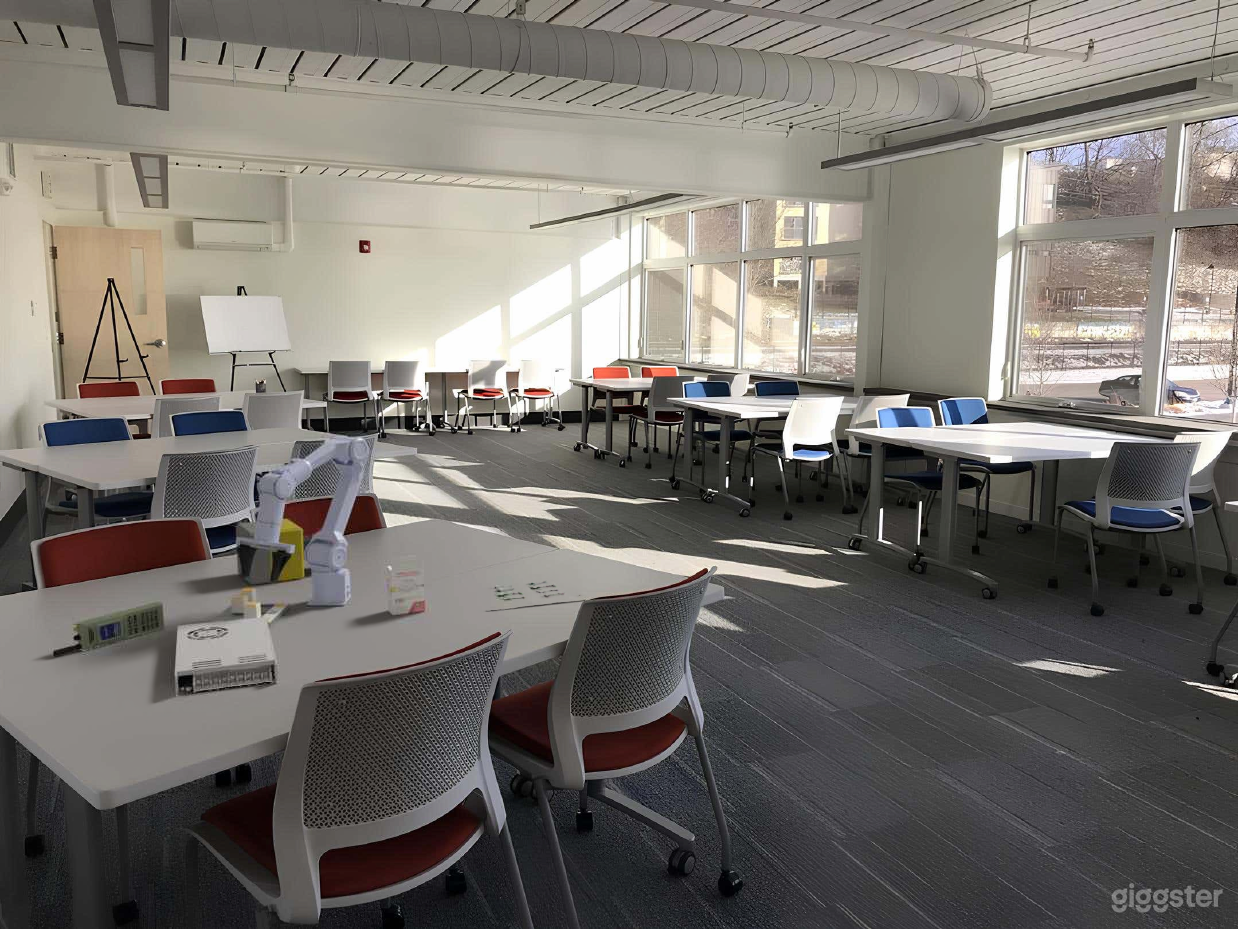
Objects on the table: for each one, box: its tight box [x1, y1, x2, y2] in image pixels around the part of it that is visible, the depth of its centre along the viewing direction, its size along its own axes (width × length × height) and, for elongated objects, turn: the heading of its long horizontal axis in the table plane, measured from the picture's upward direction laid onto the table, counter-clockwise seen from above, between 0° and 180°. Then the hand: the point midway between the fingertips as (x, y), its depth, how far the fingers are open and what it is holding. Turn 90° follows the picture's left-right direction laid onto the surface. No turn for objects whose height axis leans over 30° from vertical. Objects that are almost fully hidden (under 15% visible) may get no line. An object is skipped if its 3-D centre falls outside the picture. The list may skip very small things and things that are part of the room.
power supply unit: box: [174, 617, 279, 695], centre depth 202 cm, size 19×33×5 cm, turn 24°
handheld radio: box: [52, 601, 165, 657], centre depth 213 cm, size 7×3×25 cm
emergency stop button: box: [235, 518, 323, 586], centre depth 272 cm, size 15×24×15 cm, turn 124°
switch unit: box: [210, 602, 290, 629], centre depth 233 cm, size 14×16×2 cm
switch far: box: [239, 587, 257, 602], centre depth 238 cm, size 3×3×4 cm
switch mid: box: [230, 594, 248, 613], centre depth 232 cm, size 3×3×4 cm
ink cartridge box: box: [386, 555, 426, 616], centre depth 240 cm, size 9×5×15 cm, turn 116°
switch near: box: [244, 601, 261, 619], centre depth 227 cm, size 3×3×4 cm
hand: (259, 579), depth 227 cm, fingers open, 7 cm apart
